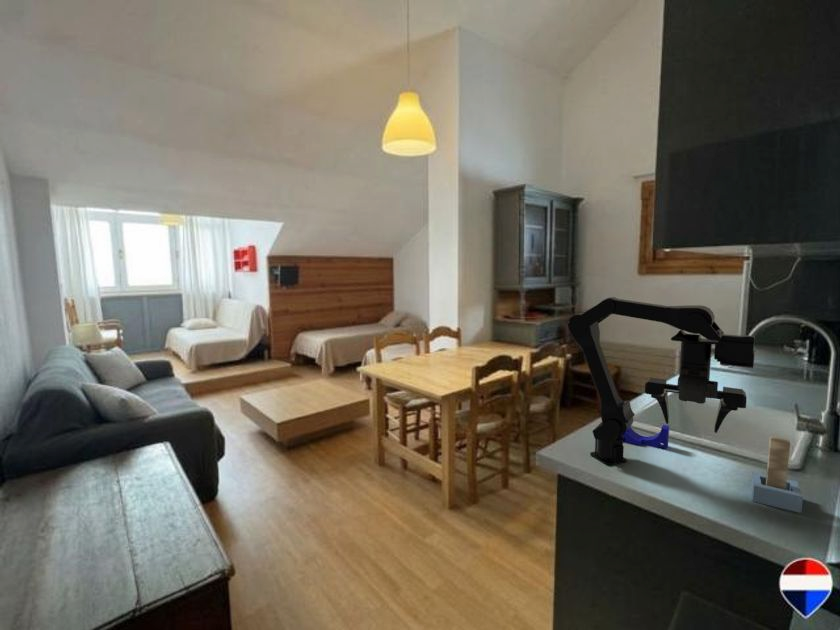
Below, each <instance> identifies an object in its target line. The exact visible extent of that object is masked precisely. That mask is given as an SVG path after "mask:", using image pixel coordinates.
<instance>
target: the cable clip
mask: <svg viewBox="0 0 840 630" xmlns="http://www.w3.org/2000/svg"><path fill="white" fill-rule="evenodd" d="M669 437H670V425H668V424H667V425H665V424H663V425H662V426H661V429H660V432H658V433H657V434H655V435H652V436H651V435H650V436H646V435H642V434H639V433H638V432H636V431H635V430H634V429H633V428H632V427H630V428H629V429H628V430H627V431H626V433H625V434H623V435H622V436H621V438H622V439H623V443H625V442H626V444H629V443H630V445H633V444H634V446H638V447H642V445H643V444H644V446H646V447H651V448H655V449H656V448H657V449H660V448H661V450H664V449H665V451H667V450H668V448H669V441H670V439H669Z"/></svg>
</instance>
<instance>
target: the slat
mask: <svg viewBox="0 0 840 630" xmlns="http://www.w3.org/2000/svg"><path fill="white" fill-rule="evenodd" d="M790 450H791V441H790V439H789V438H784V437H779V436H773V435H770V436H769V445H768V458H767V467H766V475H767V477H766V486H771V487H775V488H779V489H783V490H786V481H787V480H788V470H789V462H790V461H789V459H790V452H791V451H790Z"/></svg>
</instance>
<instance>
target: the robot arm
mask: <svg viewBox="0 0 840 630" xmlns="http://www.w3.org/2000/svg"><path fill="white" fill-rule="evenodd" d="M611 315H616V316H623V317H627V318H633V319H640V320H645V321H651V322H658V323H663V324H665V325H669V326H670V327H673V328H675V329H679V331H678V332H676V334H674V335H673V336H671V338H670V340H671V341H673V342H680V352H679V353H680V355H679V357H680V358H679V369H678V370H679V371H678V373H679V374H678V378H677V384H671V383H668V382H667V378H659V377H651V376H650V377H649V378H648V379H647V380H646V382H645V385H644V394H646V395H650V398H652V399H655V400H656V401H657V402H658V404H659V406H660V409H661V411H662V414H663V418H664V421H665V423H666V424H667V425H669V422H670V411H669V410H670V409H669V408H670V406H669V397H668V393H671V394H678V400H680V401H682V402H693V403H696V404H701V405H703V404H705V403H706V400H707V399H711V400H713V399H714V400H715V399H716V400H719V404H718V409H717V412H716V417H715V422H714V429H713V430H714V433H715V434H717V433H718V431H719V429H720V427H722V426H721V425H722V423H723V422H724V420H725V418H726V417H727V415H728V414H729V413H730V412H731V411H734V412H735V411H739V409H746V408H747V402H748V401H747V393H746V391H745V390H744V389H742V388H737V387H728V386H723V387H722V390H718V388H719V382H718V381H716V380H714V381H713V380H710V374H711V362H712V346H713V345H714V353H713V355H714V356H713V358H714V360H716V362H719V365H722V366H730V367H737V368H745V369H754V366H755V357H756V356H755V354H756V349H755V339H756V338H755V335H748V334H747V335H746V334H745V335H738V334H737V335H735V334H725V332H724V331H723V330H722V328H720V326H719V325H718V324H717V322H716V320H715V318H716V317H715V314H714V312H713V311H712V310H711V308H709V307H708V306H705V305H702V304H701V305H699V304H697V305H694V304H693V305H691V304H690V305H664V304H655V303H649V302H643V301H635V300H628V299H624V298H623V299H622V298H618V297H614V296H611V297H606V298H604V299H602V300H601V301H600V302H599V303H598V304H596V305H595V306H592V307H591V308H589V309H588V310H586V311H584V312H582V313H581V312H580V313H577V314H574V315H572V316H571V317H570V318H569V320H568V322H567V329H568V332H569V333H570V335H571V337H572V338H573V340H574V341H575V343H576V344H577V345H578V346H579V347H580V349H581V350H582V352H583V355H584V358H585V361H586V363H587V366H588V369H589V372H590V375H591V378H592V380H593V383H594V387H595V389H596V391H597V394H598V398H599V400H600V419H601V422H600V423H599V424H598V425H597V426H596V427H595V428H594V429H593V430H592V434H593V437H594V439H595V440H594V442H595V443H594V451H592V452H589V455H590V456H592V457H593V458H595V459H596V460H597V461H600V462H602V463H603V464H605V465H606V466H611V465H615V464H620V463H621V464H622V463H625V462H627V461H628V459H627V458H626V457H624V448H625V447H624V442H623V439H622V438H621V436H622V435H623V434H625V433H626V431H627V430H628V429H629V428H630V427H631V426H632V425H633V424H634V417H635V416H636V414H635V413H634V411H633V410H632V406H631V402H630V400H623V399H622V398H621V397H620V396H619V393H618V390H617V388H616V384H615V383H614V379H613V377H612V374H611V372H610V369H609V366H608V363H607V361H606V357H605V355H604V352H603V349H602V347H601V342H600V341H601V340H600V337H601V331H600V326H599V324H600V323H601V322H603V321H604V320H605V319H607V318H609V317H610V316H611ZM686 332H687V333H686ZM702 337H703V338H702ZM631 428H632V427H631Z"/></svg>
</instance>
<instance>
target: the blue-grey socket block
mask: <svg viewBox="0 0 840 630" xmlns="http://www.w3.org/2000/svg"><path fill="white" fill-rule="evenodd" d="M750 473H751V476H750V486H749V487H750V492H751V498H752V500H751V501H752V502H755V503H759V504H763V505H767V506H771V507H775V508H779V509H783V510H787V511H790V512H793V513H799V514H802V510H803V509H802V508H803V501H804V496H803V493H802V491H801V488H800V485H799V483H798V481H795V480H791V479H787V481H786V490H783V489H779V488H775V487H771V486H766V477H767V474H763V473H760V472H754V471H751V472H750Z"/></svg>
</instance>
